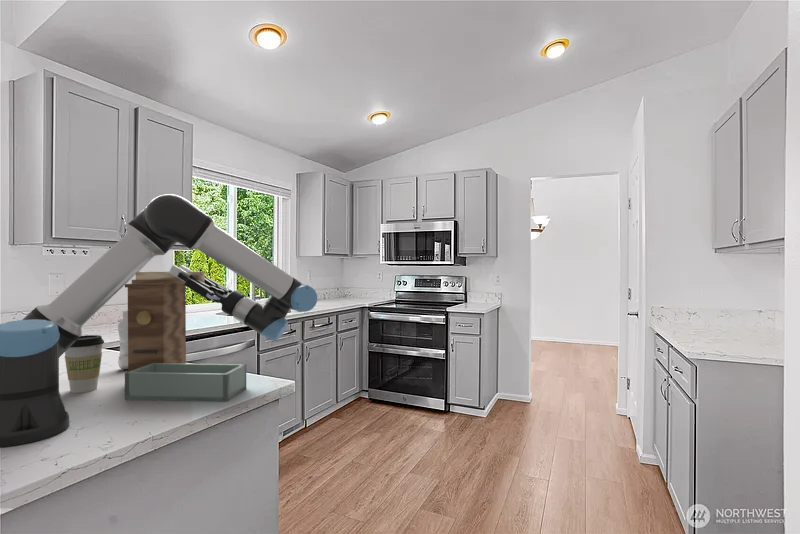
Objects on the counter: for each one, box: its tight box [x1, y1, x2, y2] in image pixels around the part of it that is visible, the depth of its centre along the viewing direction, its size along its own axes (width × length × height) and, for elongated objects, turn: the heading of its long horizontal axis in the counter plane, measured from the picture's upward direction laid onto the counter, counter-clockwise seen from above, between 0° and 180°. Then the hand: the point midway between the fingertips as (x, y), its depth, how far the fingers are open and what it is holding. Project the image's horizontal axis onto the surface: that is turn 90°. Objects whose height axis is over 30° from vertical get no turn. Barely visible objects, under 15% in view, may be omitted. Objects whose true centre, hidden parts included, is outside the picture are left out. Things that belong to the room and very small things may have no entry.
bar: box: [135, 270, 206, 283], centre depth 138 cm, size 4×20×4 cm, turn 86°
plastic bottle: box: [117, 309, 128, 370], centre depth 152 cm, size 6×7×20 cm
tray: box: [124, 362, 247, 402], centre depth 123 cm, size 12×28×7 cm, turn 86°
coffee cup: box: [64, 334, 105, 394], centre depth 127 cm, size 10×10×15 cm
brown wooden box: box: [124, 279, 187, 372], centre depth 138 cm, size 14×12×31 cm
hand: (175, 268), depth 137 cm, fingers closed on bar, 4 cm apart
